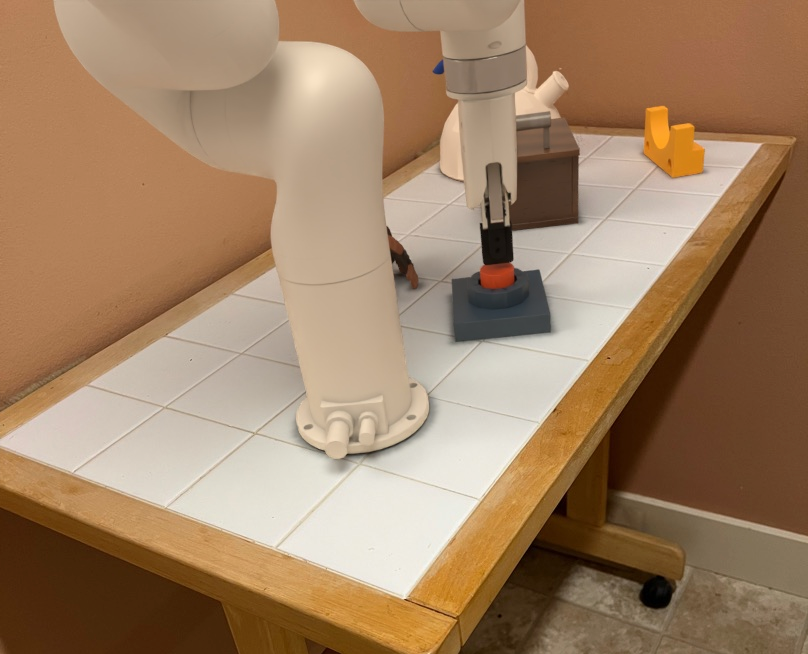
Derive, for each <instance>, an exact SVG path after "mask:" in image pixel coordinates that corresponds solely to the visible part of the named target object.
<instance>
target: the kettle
mask: <svg viewBox="0 0 808 654" xmlns="http://www.w3.org/2000/svg"><path fill="white" fill-rule="evenodd" d="M526 62H527V86H525V88H523V89H522V90H520V91H518V92H515V109H516V115H524V114H531V113H539V112H547V111H550V113H551V119H555V118H562V116H561V114H560V112H559V110H558V109H557V107H556V106H555V105H554V104H555V103H556V102H557V101H558V100H559V99H560V98H561V97H562V95H563V94H564V93H565V92H567V91H569V87H570V85H569V82H568V80H567V79H566V77H565V76H564V74H562V73H561V72H560V71H558V70H553V71H552V74H551V75H550V76H548V78H547V79H546V80H545V81H544V82H542V83H541V85H540V86H538V85H537V84H538V80H539V67H538V63H537V61H536V57H535V55H534V54H533V52H532V50H531V49H530V48H529V47H528V45H527V44H526ZM432 73H433V74H434V75H443V74H444V64H443V58H442V59H441V60H440V61H438V62H437V64H436V66H435V67H434V68H433V70H432ZM537 86H538V87H537ZM439 159H440V160H439V163H440V164H439V169H440V171H441V172H442V174H443V175H445V176H447V177H448V178H449V179H452V180H455V181H458V182H463V183H464V177H463V165H462V155H461V143H460V132H459V117H458V102H457V103H455V105H454V107H453V108H452V110H451V112H450V114H449V115H448V117H447V118H446V121H445V122H444V126H443V128H442V132H441V135H440V138H439Z"/></svg>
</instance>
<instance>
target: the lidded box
mask: <svg viewBox="0 0 808 654" xmlns="http://www.w3.org/2000/svg"><path fill="white" fill-rule="evenodd" d="M579 159H580V155H579V156H571V157H563V158H555V159H547V160H539V161H531V162H523V163H517V199H516V201H515V202H514V203H513V204H512V205H511V204H510V201H509V219H511V224H512V231H519V230H528V229H535V228H537V229H538V228H545V227H546V228H547V227H553V226H563V225H572V224H578V223H579V182H580V181H579V179H580V178H579V172H580V171H579V170H580V169H579V168H580V164H579V163H580V161H579Z"/></svg>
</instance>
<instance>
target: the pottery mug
mask: <svg viewBox="0 0 808 654" xmlns="http://www.w3.org/2000/svg"><path fill="white" fill-rule="evenodd" d="M386 226H387V234H388V241H389V248H390V255H391V261H392V265H394V263H395V264H396V266H397V268H398V271H399V272H398V273H400V274H401V275H403V274H405V277H406V278H405V279H407V281H409V282H410V286H411V289H412V290H416V289H417V287H418V285H419V275H418V274H417V271H416V269H415V265H414V263H413V261H412V259H411V258H410V255H409V254H408V252H407V250H406V249H405V247H404V245H403V244H402V243H400V241H399V240H397V239H396V238H395V237H394V236H393V234H392V231H391V229H390V227H389V226H388V225H386Z"/></svg>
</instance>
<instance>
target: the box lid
mask: <svg viewBox="0 0 808 654" xmlns="http://www.w3.org/2000/svg"><path fill="white" fill-rule="evenodd" d="M516 135H517V163H523V162H531V161H539V160H547V159H555V158H563V157H571V156H579V157H580V154H581V149H580V147H579V145H578V143H577V141H576V138H575V136H574V134H573V132H572V129H571V127H570V125H569V123H568V121H567V119H566V117H564V116H563V117H561V118H555V119H551V113H550V111H547V112H539V113H531V114H524V115H516Z"/></svg>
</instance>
